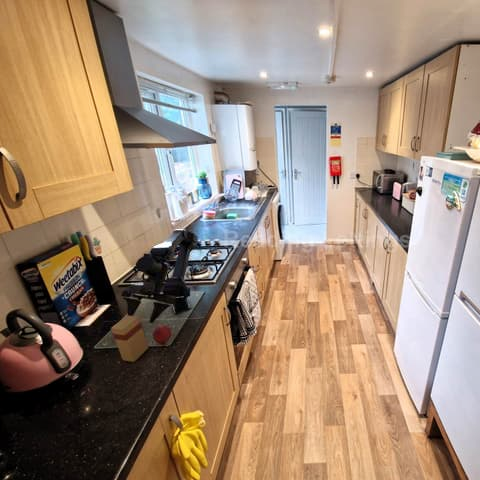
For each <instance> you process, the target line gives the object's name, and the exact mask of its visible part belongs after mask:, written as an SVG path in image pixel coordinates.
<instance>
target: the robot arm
mask: <svg viewBox="0 0 480 480" xmlns="http://www.w3.org/2000/svg"><path fill="white" fill-rule="evenodd" d="M198 242H199V236H198V235H197V234H196V233H194V232H191V231H188V230H187V229H185V228H181V229H179V228H178V229H173V231H172V233H171V234H170V235H169V236H168V237H167V238H166V239H165V240H164V241H163V242H162V243H160V244H156V245H155V246H153V247H152V248H151V249H150V251H149V252H146V253H145V252H144V253H143V255H142V256H140V258H138V259H137V261H136V262H135V268H136V270H137V271H139V272H141V273H143V274H145V275H147V277H146V278H143V279H142V281H139V282H132V283H131V282H129V283H128V288H125V289H123V290H122V292H121V294H120V297H122V299H123V300H125V302H126V305H127V307H126V308H127V315H128V316H135V313H136V312H137V310H138V309H139V307H140V305H141V303H142V299H144V300H150V301H153V310H152V312H151V314H150V318H149V323H150V324H153V323H154V322H155V321H156V320H157V319H158V317H160V316H161V314H162V313H163V312H164V311H166V310H167V309H168V308H169V307H171V309H172V310H173V312H174V314H175V315H176V314H179V313H182V312H184V311H189V310H190V309H191V308H192V307H191V305H190V303H189V301H188V298H189V297H190V296H191V288H190V287H188V286H187V282H186V280H185V277H186V274H187V273H186V272H187V268H188V263H189V260H190V257H191V252H192V251H193V250H194V249H196V247H197V244H198ZM177 247H178V248H179V250H178V252H177V256H176V260H175V264H174V267H173V271H172V267H171V265H170V263H167V262H171V261H172V260H174V259H173V258H174V257H175V255H176V254H175V250H176V249H177ZM169 271H172V275H171V277H167V275H168V273H169ZM161 291H162V293H161ZM127 315H126V316H127Z"/></svg>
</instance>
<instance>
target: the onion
mask: <svg viewBox="0 0 480 480" xmlns="http://www.w3.org/2000/svg"><path fill="white" fill-rule="evenodd" d="M171 336H172V330H171V328H169V327H168V326H166V325H163V324H161V323H160V324H159V325H158V326H157V328H155V330H154V331H153V333H152V339H153V341H154V342H156V343H157V344H166V343H167V342H168V341H169V340H170V338H171Z"/></svg>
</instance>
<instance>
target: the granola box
mask: <svg viewBox="0 0 480 480" xmlns="http://www.w3.org/2000/svg"><path fill="white" fill-rule="evenodd" d="M110 330H111V332H112V335H113V338H114V340H115V343H116V346H117V348H118V351H119V354H120V356H121V358H122V361H125V362H131V363H132V362H133V363H134V362H137V360H138V359H139V358H140V357H141V356H142V355H144V353H145V352H146V351H147V350H149V344H148V342H147V339H146V336H145V333H144V330H143V325H142V322H141V320H140V317H139V316H137V315H136V316H135V315H133V316H128V315H126V316H125V317H123V318H122V319H121V320H120V321H118V322H117V323H116V324H114V325H113V326H111V327H110Z"/></svg>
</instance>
